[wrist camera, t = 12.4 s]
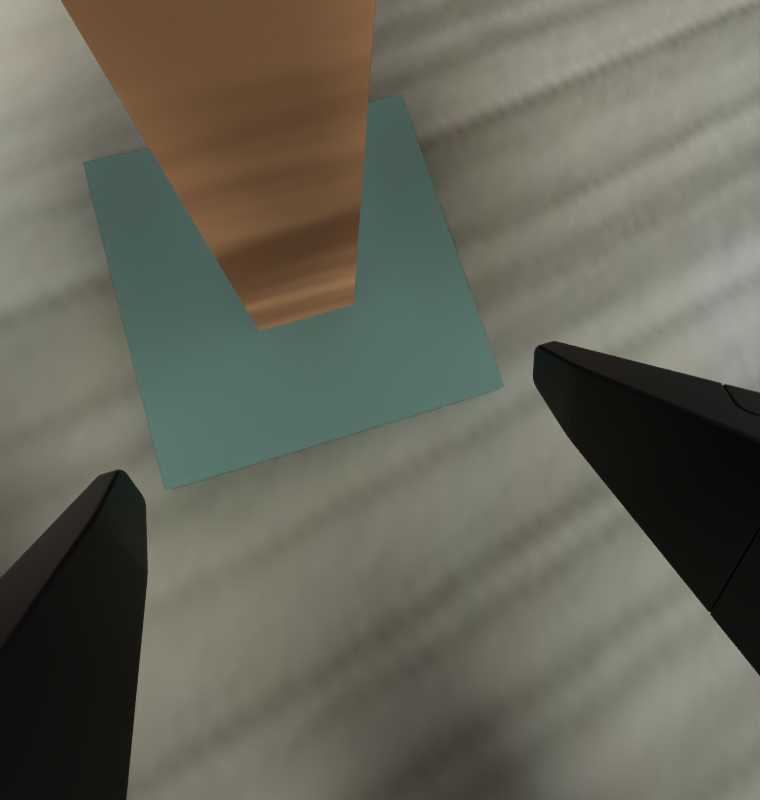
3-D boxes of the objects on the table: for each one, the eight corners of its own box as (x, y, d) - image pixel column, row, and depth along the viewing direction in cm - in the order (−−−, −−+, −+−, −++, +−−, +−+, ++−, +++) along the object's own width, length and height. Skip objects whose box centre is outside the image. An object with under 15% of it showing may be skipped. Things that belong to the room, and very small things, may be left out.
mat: (495, 390, 20) (503, 386, 19) (174, 488, 18) (164, 489, 17) (398, 112, 21) (402, 95, 20) (96, 177, 20) (83, 162, 19)
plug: (353, 304, 19) (386, -151, 5) (259, 330, 18) (5, -93, 4) (325, 218, 19) (284, -415, 5) (232, 241, 19) (-71, -392, 5)
